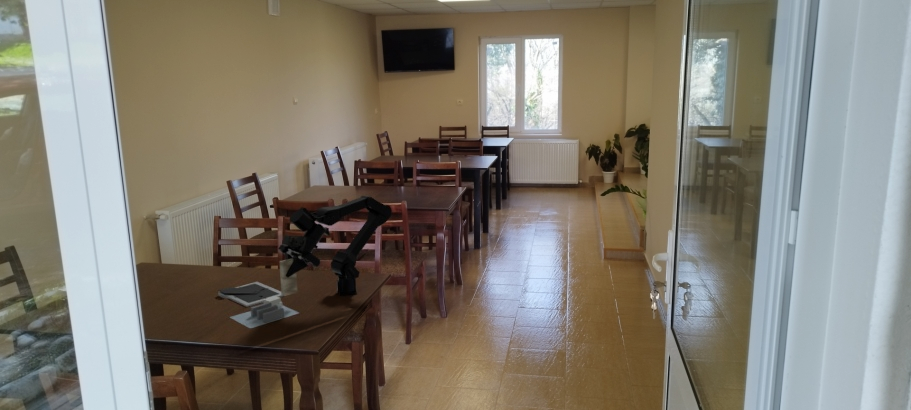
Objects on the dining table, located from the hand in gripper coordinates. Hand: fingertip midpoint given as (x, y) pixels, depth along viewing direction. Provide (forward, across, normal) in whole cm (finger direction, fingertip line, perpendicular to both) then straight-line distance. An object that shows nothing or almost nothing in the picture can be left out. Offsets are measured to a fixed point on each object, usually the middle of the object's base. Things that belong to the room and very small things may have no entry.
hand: (284, 276), depth 207 cm
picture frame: (+10, -22, +8) cm, 26 cm away
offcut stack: (+10, -5, +6) cm, 13 cm away
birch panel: (+4, 0, +6) cm, 7 cm away
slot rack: (+15, 0, +3) cm, 15 cm away
